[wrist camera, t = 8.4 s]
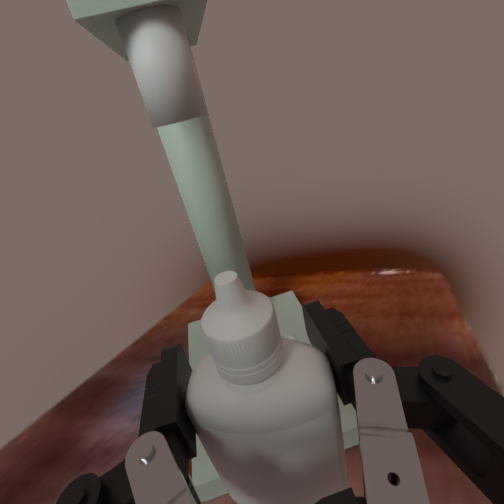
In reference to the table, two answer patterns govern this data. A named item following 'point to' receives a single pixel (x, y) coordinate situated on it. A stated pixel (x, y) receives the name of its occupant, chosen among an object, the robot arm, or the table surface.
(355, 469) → the table surface
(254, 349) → the eye dropper bottle
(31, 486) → the table surface
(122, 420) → the table surface
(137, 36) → the arbor press
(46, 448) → the table surface
